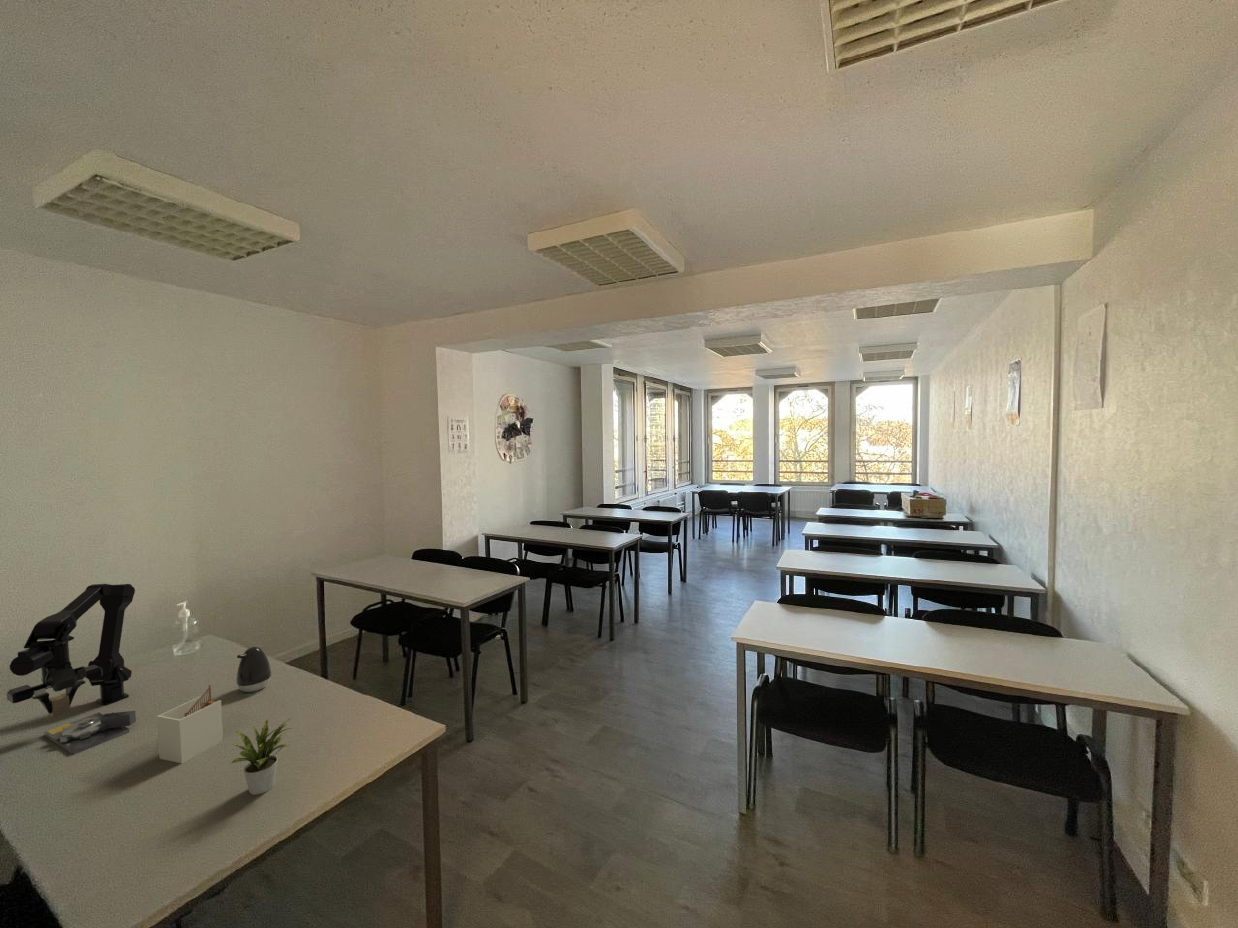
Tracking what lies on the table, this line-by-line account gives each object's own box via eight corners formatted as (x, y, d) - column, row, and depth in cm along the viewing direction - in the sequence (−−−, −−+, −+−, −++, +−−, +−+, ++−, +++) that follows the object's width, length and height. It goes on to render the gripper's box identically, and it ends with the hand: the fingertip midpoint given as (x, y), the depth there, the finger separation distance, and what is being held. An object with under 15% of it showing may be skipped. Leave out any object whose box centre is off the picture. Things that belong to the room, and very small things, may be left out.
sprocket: (42, 745, 142) (41, 732, 142) (79, 721, 154) (78, 709, 154) (117, 736, 146) (116, 723, 146) (147, 713, 158) (147, 701, 158)
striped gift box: (53, 717, 148) (52, 701, 148) (48, 714, 150) (47, 698, 149) (70, 711, 151) (68, 695, 151) (65, 708, 153) (64, 693, 153)
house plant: (304, 788, 124) (301, 725, 123) (235, 818, 114) (231, 750, 113) (292, 762, 134) (289, 704, 133) (227, 788, 124) (224, 726, 124)
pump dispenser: (228, 693, 172) (226, 651, 171) (258, 680, 182) (256, 639, 181) (250, 697, 169) (248, 654, 169) (279, 683, 179) (276, 642, 178)
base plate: (44, 735, 149) (43, 731, 149) (99, 715, 160) (98, 712, 160) (73, 754, 139) (72, 750, 139) (129, 731, 150) (129, 728, 150)
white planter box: (223, 741, 145) (220, 686, 145) (182, 764, 135) (178, 706, 134) (202, 736, 148) (199, 683, 147) (159, 759, 137) (156, 702, 136)
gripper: (17, 679, 138) (21, 732, 138) (108, 652, 154) (112, 700, 155) (4, 671, 143) (8, 723, 143) (94, 646, 159) (97, 693, 160)
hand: (59, 709), depth 150 cm, fingers closed on striped gift box, 3 cm apart
